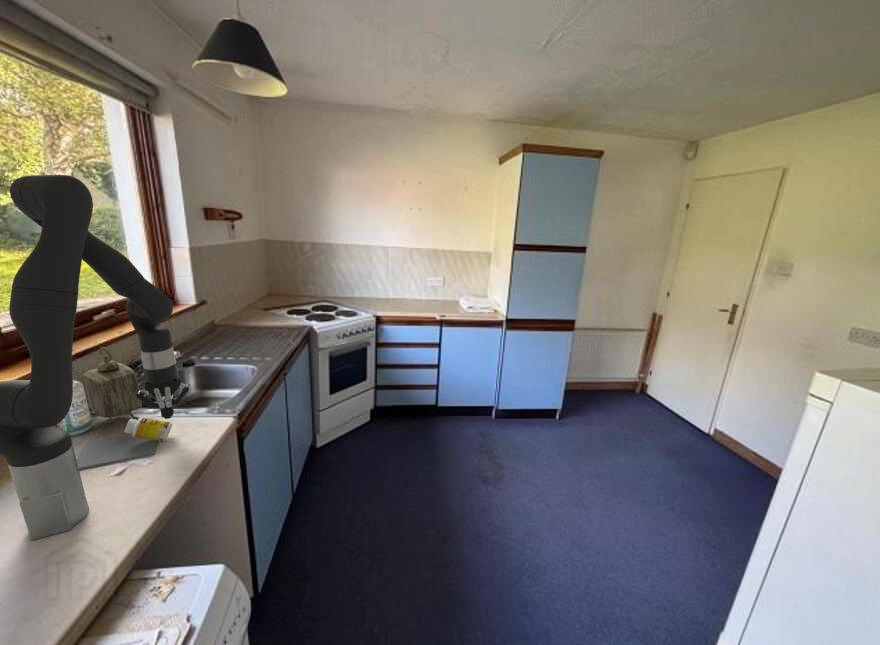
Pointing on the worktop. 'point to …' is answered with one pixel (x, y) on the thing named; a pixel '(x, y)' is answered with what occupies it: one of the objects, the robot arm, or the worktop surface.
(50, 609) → the worktop surface
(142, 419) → the supplement bottle
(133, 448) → the mat
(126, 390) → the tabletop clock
